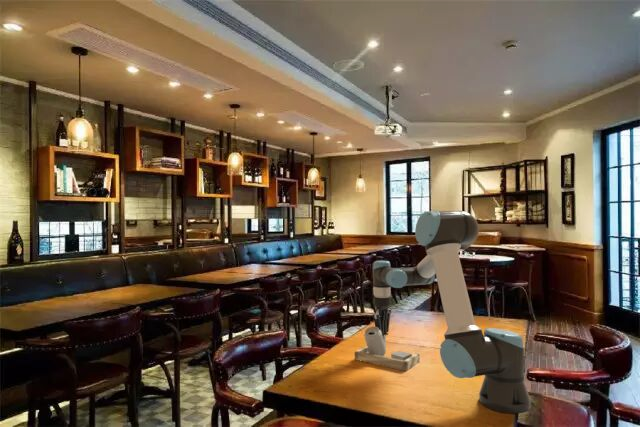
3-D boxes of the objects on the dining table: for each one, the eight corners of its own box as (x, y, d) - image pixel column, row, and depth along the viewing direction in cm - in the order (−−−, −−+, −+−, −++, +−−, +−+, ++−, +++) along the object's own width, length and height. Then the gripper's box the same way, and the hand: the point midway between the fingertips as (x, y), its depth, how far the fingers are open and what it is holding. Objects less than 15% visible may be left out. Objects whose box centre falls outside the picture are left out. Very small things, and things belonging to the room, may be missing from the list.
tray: (406, 371, 166) (406, 362, 166) (354, 360, 180) (354, 351, 180) (419, 362, 177) (419, 353, 177) (369, 352, 190) (369, 344, 190)
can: (367, 358, 183) (360, 335, 179) (372, 347, 189) (366, 324, 185) (383, 360, 179) (377, 336, 175) (388, 348, 185) (382, 325, 181)
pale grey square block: (403, 367, 171) (403, 357, 172) (391, 363, 176) (391, 354, 176) (411, 363, 176) (411, 353, 176) (399, 360, 180) (399, 350, 180)
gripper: (381, 292, 194) (381, 344, 194) (367, 297, 184) (367, 352, 184) (396, 294, 190) (396, 347, 190) (382, 299, 180) (383, 355, 180)
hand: (382, 349), depth 187 cm, fingers closed
